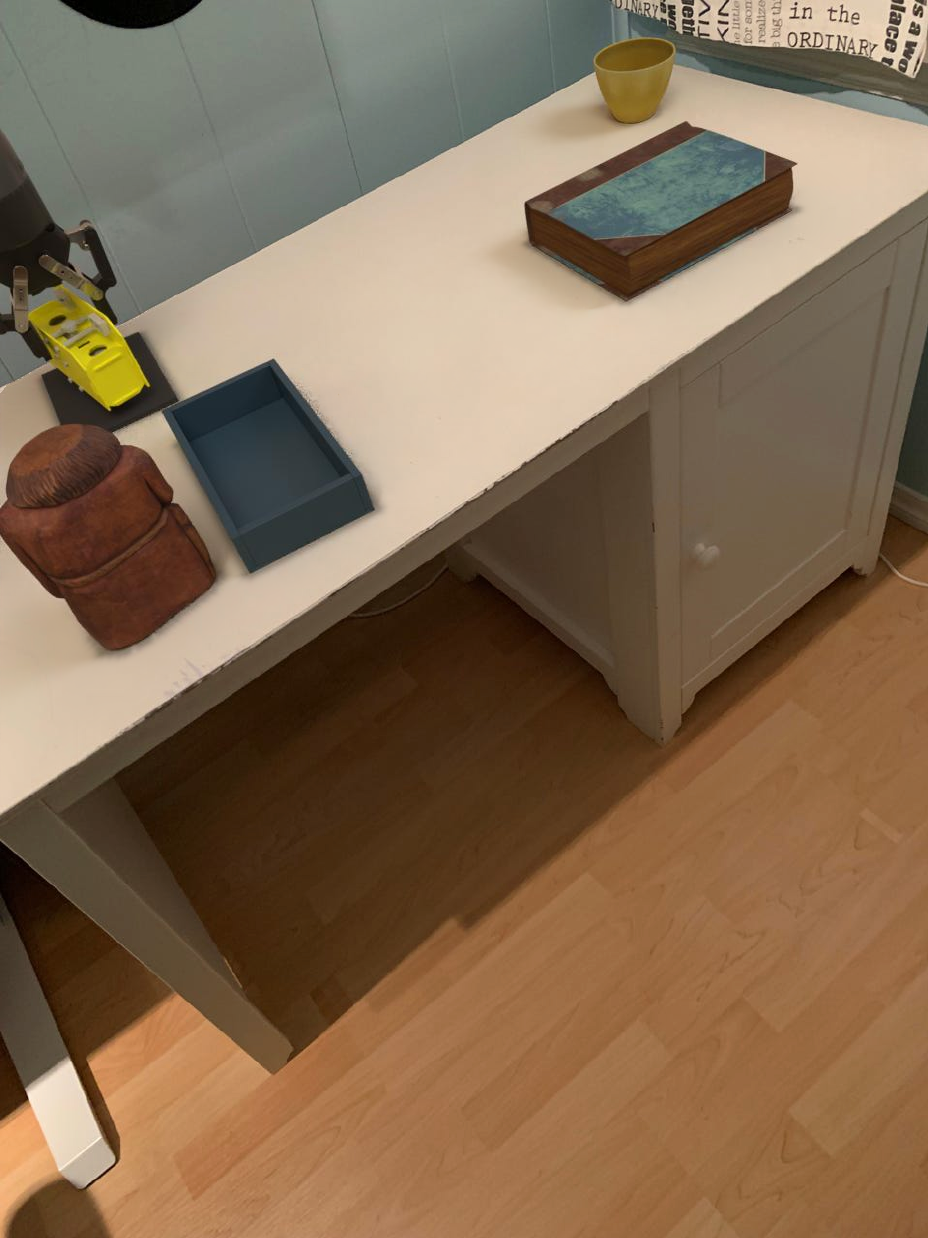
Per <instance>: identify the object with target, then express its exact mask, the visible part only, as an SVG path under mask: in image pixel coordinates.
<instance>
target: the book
mask: <svg viewBox="0 0 928 1238" xmlns="http://www.w3.org/2000/svg"><path fill="white" fill-rule="evenodd" d="M798 164H799V163H798V162H797V161H793V160H792V159H788V158H786V157H783V156H780V155H777V154H775V153H772V152H770V151H767V150H764V149H761V148H760V147H757V146H754V145H751V144H748V143H747V142H743V141H740V140H738V139H735V138H732V137H730V136H727V135H724V134H721V133H718V132H716V131H713V130H709V129H706V128H703V127H700V126H692V125H691V124H690V122H688V121H687V120H685V121H683V122H680V123H679V124H676V125H674V126H673V127H671V128H669V129H667V130H665V131H663V132H661V133H659V134H657V135H655V136H653V137H651V138H649V139H647V140H644V141H643V142H641V143H638V144H637V145H635V146H633V147H631V148H629V149H627V150H625V151H623V152H622V153H619V154H617V155H615V156H613V157H611V158H609V159H607V160H605V161H603V162H601V163H599V164H597V165H596V166H593V167H591V168H588V169H587V170H586V171H583V172H581V173H579V174H577V175H576V176H573V177H571V178H569V179H567V180H566V181H564V182H562V183H559V184H558V185H555V186H553V187H552V188H550V189H547V190H545V191H543V192H542V193H539V194H538V195H536V196H534V197H532V198H529V199H528V200H525V201H524V205H523V206H524V215H525V222H526V223H525V224H526V229H527V235H528V241H529V243H530V245H531V246H533V247H536V248H537V249H539V250H540V251H542V252H544V253H545V254H547V255H549V256H550V257H551V258H553V259H555V260H557V261H558V262H560V263H561V264H563V265H565V266H566V267H568V268H569V269H571V270H573V271H575V272H576V273H578V274H580V275H581V276H583V277H585V278H587V279H588V280H589V281H591V282H593V283H595V284H596V285H599V287H601V288H603V289H604V290H606V291H608V292H610V293H611V294H613V295H615V296H617V297H618V298H620V299H622V300H623V301H626V302H628V301H629V300H631V299H633V298H635V297H637V296H638V295H640V294H643V293H644V292H646V291H647V290H648V291H649V289H651V288H653V287H655V286H657V285H659V284H660V283H662V282H664V281H665V280H667V279H670V278H671V277H673V276H676V274H678V273H680V272H682V271H684V270H686V269H688V268H689V267H691V266H693V265H695V264H697V263H699V262H700V261H702V260H704V259H705V258H707V257H709V256H711V255H713V254H715V253H717V252H718V251H721V250H722V249H724V248H727V246H730V245H731V244H733V243H735V242H737V241H739V240H741V239H742V238H743V237H746V236H748V235H750V234H751V233H753V232H755V231H757V230H758V229H760V228H762V227H764V226H766V225H768V224H770V223H771V222H773V221H775V220H777V219H778V218H780V217H782V216H785V215H786V214H788V213H790V212H791V211H793V208H791V207H789V206H790V202H791V200H792V197H793V194H794V178H793V175H794V173H793V167H795V166H797V165H798Z"/></svg>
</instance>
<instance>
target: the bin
mask: <svg viewBox="0 0 928 1238" xmlns="http://www.w3.org/2000/svg"><path fill="white" fill-rule="evenodd" d="M292 381H293V380H291V378H290V377H289V376H288V374H287V373H286V372H285V371H284V369H283V368H282V366H280V364H279V363H278V362H277V360H276V359H275V358H271V359H269V360H267V361H265V362H263V363H260V364H258V365H256V366H254V367H251V368H250V369H247V370H246V371H243V372H241V373H239V374H237V375H234V376H233V377H230V378H228V379H226V380H224V381H222V382H220V383H218V384H215V385H213V386H211V387H208V388H207V389H205V390H202V391H201V392H198V393H196V394H194V395H192V396H190V397H188V398H185V399H183V400H181V401H178V402H176V403H173V404H171V405H169V406H167V407H165V408H163V409H160V412H161V413H162V415H163V417H164V419H165V421H166V423H167V424H168V426H169V428H170V430H171V432H172V434H173V435H174V437H175V439H176V441H177V443H178V445H179V447H180V448H181V450H182V452H183V454H184V456H185V458H186V459H187V461H188V463H189V465H190V467H191V468H192V470H193V472H194V474H195V476H196V478H197V480H198V482H199V483H200V485H201V488H202V489H203V491H204V493H205V494H206V496H207V498H208V500H209V502H210V503H211V506H212V508H213V509H214V511H215V513H216V515H217V516H218V518H219V520H220V522H221V524H222V526H223V527H224V530H226V533H227V535H228V537H229V539H230V541H231V542H232V544H233V546H234V548H235V549H236V552H237V553H238V556H240V558H241V560H242V562H243V565H244V566H245V567H246V569H247V571H248V573H249V574H252V573H254V572H256V571H258V570H260V569H263V567H266V566H268V565H270V564H272V563H274V562H275V561H278V560H279V559H282V558H283V557H285V556H288V555H289V554H291V553H293V552H296V551H297V550H299V549H301V548H303V547H304V546H307V545H309V544H311V543H313V542H314V541H316V540H319V539H320V538H322V537H324V536H326V535H328V534H331V533H332V532H334V531H336V530H338V529H340V528H342V527H343V526H345V525H348V524H349V523H352V522H354V521H356V520H358V519H359V518H361V517H363V516H365V515H367V514H370V513H372V511H375V507H374V504H373V501H372V498H371V496H370V492H369V490H368V487H367V484H366V482H365V479H364V476H363V473H362V472H361V471H360V470H359V468H358V466H357V465H356V464H355V463H354V462H353V460H352V459H351V458H350V456H349V455H348V454H347V452H346V451H345V449H344V448H343V447H342V446H341V444H340V443H339V442H338V440H337V439H336V438H335V436H334V435H333V434H332V433H331V431H330V430H329V429H328V427H327V426H326V425H325V424H324V422H323V421H322V420H321V418H320V417H319V416H318V414H317V413H316V411H315V410H314V409H313V407H312V406H311V405H310V404H309V402H308V401H307V400H306V399H305V397H304V396H303V394H302V393H301V392H300V391H299V389H298V387H296V385H295V384H294V382H292Z"/></svg>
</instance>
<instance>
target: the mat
mask: <svg viewBox="0 0 928 1238" xmlns="http://www.w3.org/2000/svg"><path fill="white" fill-rule="evenodd" d="M123 338H124V339H125V341H126V343H127V345H128V347H129V349H130V350H131V352H132V354H133V356H134V358H135V359H136V360H137V362H138V364H139V366H140V369H141V370H142V372H143V374H144V376H145V378H146V380H147V381H148V383H149V385H150V386H149V387H148V386H146V385H145V384H144V385H143V387H142V389H141V391H140V393H138V394H137V395H135V396H133V397H132V398H130V399H129V400H127V401H125V402H124V403H122V404H120V405H119V406H109V407H110V409H111V410H110V411H109V410H108V409H106V408H105V407H104V406H103V405H102V404H100V403H99V402H98V401H97V400H96V399H94V398H93V397H92V396H91V395H89V394H88V393H87V392H86V391H83V392H81V391H80V390H79V387H80V386H79V385H77V384H76V383H75V382H72V383H70V382H69V380H68V378H69V377H68V376H67V375H65V374H64V373H63V372H62V371H60V370H59V369H58V368H57V367H55V368H54V369H51V370H49V371H46V372H45V373H42V374H41V378H42V382H43V384H44V386H45V389H46V392H47V394H48V396H49V399H50V402H51V405H52V407H53V409H54V412H55V415H56V417H57V420H58V422H59V424H60V425H68V424H87V425H94V426H98V427H100V428H102V429H104V430H106V431H108V432H111V433H113V432H115V431H118V430H120V429H122V428H124V427H126V426H128V425H130V424H132V423H135V422H136V421H139V420H141V419H143V418H146V417H147V416H149V415H152V414H154V413H156V412H158V411H161V410H163V409H165V408H168V407H170V406H172V405H174V404H176V403H179V398H178V397H177V395H176V393H175V392H174V390H173V388H172V387H171V384H170V383H169V381H168V379H167V378H166V376H165V374H164V373H163V371H162V369H161V367H160V365H159V363H158V362H157V361H156V359H155V357H154V355H153V354H152V352H151V350H150V348H149V346H148V345H147V343H146V341H145V339H144V337H143V336H142V334H141V333H140V331H136V332H134V333H132V334H130V335H128V336H127V335H126V337H123ZM60 425H59V426H60Z"/></svg>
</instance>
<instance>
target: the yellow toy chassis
mask: <svg viewBox="0 0 928 1238" xmlns="http://www.w3.org/2000/svg"><path fill="white" fill-rule="evenodd" d="M52 293H53V294H54V296H55V298H56V299H57V300H52V299H51V300H49V301H47V302H46V303H44V304H42V305H40V306H39V307H37V308H34V309H32V310H31V311H30V312H28V321H29V320H30V321H31V323H32V324H33V326H34V327H35V329H36V331H37V332H38V334H39V335H40V337H41V339H42V340H43V342H44V343H45V345H46V346H47V348H48V350H49V352H50V354H51V356H52V358H53V359H51V360H49V361H48V362H49V363H50V364H52V365H53V366H54V367H55V368H58V369H59V370H60V371H62V372H63V373H64V374H65V375H67V376H68V377H69V378H68V380H69V382H70V383H72V382H75V383H76V384H77V385H79V386H80V387H79V390H80V391H81V392H83V391H86V392H87V393H88V394H89V395H91V396H92V397H93V398H94V399H96V400H97V401H98V402H99V403H100V404H102V405H103V406H104V407H105V408H106V409H108V410H109V411H110V410H111V409H110V407H109V406H119V405H120V404H122V403H124V402H125V401H127V400H129V399H130V398H132V397H133V396H135V395H137V394H138V393H140V391H141V389H142V387H143V385H144V384H145V385H146V386H148V387H149V386H150V385H149V383H148V381H147V380H146V378H145V376H144V374H143V372H142V370H141V369H140V366H139V364H138V362H137V360H136V359H135V358H134V356H133V354H132V352H131V350H130V349H129V347H128V345H127V343H126V341H125V339H124V338H125V337H124V336H123V335H122V333H121V332H120V331H119V329H118V328H117V327H116V325H113V323H112V322H111V321H110V320H109V319H108V317H107V316H105V315H104V314H103V313H101V312H100V311H98V310H97V309H96V308H95V306H94V305H93V306H92V305H91V304H90V303H88V302H87V301H85V300H84V299H83V298H81V297H80V296H78V295H77V294H75V293H74V292H73V291H72V290H70V289H68V288H67V287H66V286H64V285H63V284H61V285H58V286H56V287H53V291H52ZM102 318H103V319H104V320H105V321H104V320H103V319H102ZM107 324H108V325H107ZM108 326H109V327H108ZM109 328H110V329H109ZM110 330H111V331H110Z"/></svg>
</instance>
